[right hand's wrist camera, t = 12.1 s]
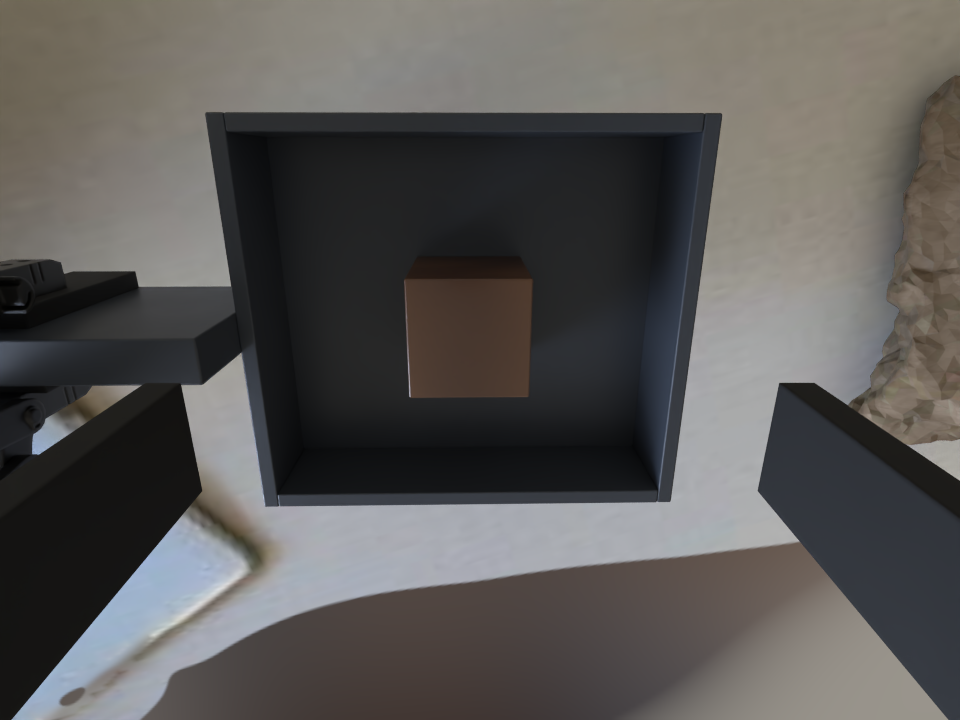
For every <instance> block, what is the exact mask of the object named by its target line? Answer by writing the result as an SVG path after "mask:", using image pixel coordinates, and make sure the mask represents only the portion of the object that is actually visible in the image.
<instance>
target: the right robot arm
mask: <svg viewBox="0 0 960 720" xmlns="http://www.w3.org/2000/svg"><path fill="white" fill-rule="evenodd" d="M201 492H202V487H201V482H200V477H199V472H198V467H197V462H196V457H195V452H194V447H193V442H192V437H191V432H190V427H189V422H188V417H187V412H186V407H185V402H184V397H183V392H182V387H181V383H145V384H143V385H142V386H140V387H139V388H137V389H136V390H134V391H133V392H131V393H130V394H129V395H127V396H126V397H124V398H123V399H121V400H120V401H118V402H117V403H115V404H114V405H112V406H111V407H109V408H108V409H106V410H105V411H103V412H102V413H100V414H99V415H97V416H96V417H94V418H93V419H91V420H90V421H88V422H87V423H85V424H84V425H82V426H81V427H80V428H78V429H77V430H75V431H74V432H72V433H71V434H69V435H68V436H66V437H65V438H63V439H62V440H60V441H59V442H57V443H56V444H54V445H53V446H51V447H50V448H48V449H47V450H45V451H44V452H42V453H41V454H39V455H38V456H36V457H35V458H33V459H32V460H31V461H29V462H28V463H26V464H25V465H23V466H22V467H20V468H19V469H17V470H16V471H14V472H13V473H11V474H10V475H8V476H7V477H5V478H4V479H2V480H1V481H0V720H12V718H13V717H14V716H15V715H16V714H17V712H18V711H19V710H20V709H21V708H22V706H23V705H24V704H25V703H26V702H27V700H28V699H29V698H30V697H31V696H32V694H33V693H34V692H35V691H36V690H37V688H38V687H39V686H40V685H41V684H42V682H43V681H44V680H45V679H46V678H47V676H48V675H49V674H50V673H51V672H52V670H53V669H54V668H55V667H56V666H57V665H58V663H59V662H60V661H61V660H62V659H63V657H64V656H65V655H66V654H67V653H68V651H69V650H70V649H71V648H72V647H73V645H74V644H75V643H76V642H77V641H78V639H79V638H80V637H81V636H82V635H83V633H84V632H85V631H86V630H87V629H88V627H89V626H90V625H91V624H92V623H93V621H94V620H95V619H96V618H97V617H98V615H99V614H100V613H101V612H102V611H103V609H104V608H105V607H106V606H107V605H108V603H109V602H110V601H111V600H112V599H113V597H114V596H115V595H116V594H117V593H118V591H119V590H120V589H121V588H122V587H123V585H124V584H125V583H126V582H127V581H128V579H129V578H130V577H131V576H132V575H133V573H134V572H135V571H136V570H137V569H138V567H139V566H140V565H141V564H142V563H143V561H144V560H145V559H146V558H147V557H148V555H149V554H150V553H151V552H152V551H153V549H154V548H155V547H156V546H157V545H158V543H159V542H160V541H161V540H162V539H163V537H164V536H165V535H166V534H167V533H168V531H169V530H170V529H171V528H172V527H173V525H174V524H175V523H176V522H177V521H178V519H179V518H180V517H181V516H182V515H183V513H184V512H185V511H186V510H187V509H188V507H189V506H190V505H191V504H192V503H193V501H194V500H195V499H196V498H197V497H198V495H199V494H200V493H201ZM758 492H759V493H760V494H761V495H762V497H763V498H764V499H765V500H766V501H767V503H768V504H769V505H770V506H771V507H772V509H773V510H774V511H775V512H776V513H777V515H778V516H779V517H780V518H781V519H782V521H783V522H784V523H785V524H786V525H787V527H788V528H789V529H790V530H791V531H792V533H793V534H794V535H795V536H796V537H797V539H798V540H799V541H800V542H801V543H802V545H803V546H804V547H805V548H806V549H807V551H808V552H809V553H810V554H811V555H812V557H813V558H814V559H815V560H816V561H817V563H818V564H819V565H820V566H821V567H822V569H823V570H824V571H825V572H826V573H827V575H828V576H829V577H830V578H831V579H832V581H833V582H834V583H835V584H836V585H837V587H838V588H839V589H840V590H841V591H842V593H843V594H844V595H845V596H846V597H847V598H848V600H849V601H850V602H851V603H852V604H853V606H854V607H855V608H856V609H857V611H858V612H859V613H860V614H861V615H862V617H863V618H864V619H865V620H866V621H867V623H868V624H869V625H870V626H871V627H872V629H873V630H874V631H875V632H876V633H877V634H878V636H879V637H880V638H881V639H882V641H883V642H884V643H885V644H886V645H887V647H888V648H889V649H890V650H891V651H892V653H893V654H894V655H895V656H896V657H897V659H898V660H899V661H900V662H901V663H902V665H903V666H904V667H905V668H906V669H907V670H908V672H909V673H910V674H911V675H912V676H913V678H914V679H915V680H916V681H917V682H918V684H919V685H920V686H921V687H922V688H923V690H924V691H925V692H926V693H927V694H928V696H929V697H930V698H931V699H932V700H933V702H934V703H935V704H936V705H937V706H938V708H939V709H940V710H941V711H942V712H943V714H944V715H945V716H946V717H947V718H948V720H960V481H959V480H958V479H956V478H955V477H953V476H952V475H950V474H949V473H947V472H946V471H944V470H943V469H941V468H940V467H938V466H937V465H935V464H934V463H932V462H931V461H929V460H928V459H927V458H925V457H924V456H922V455H921V454H919V453H918V452H916V451H915V450H913V449H912V448H910V447H909V446H907V445H906V444H904V443H903V442H901V441H900V440H898V439H897V438H895V437H894V436H892V435H891V434H889V433H888V432H886V431H885V430H883V429H882V428H880V427H879V426H878V425H876V424H875V423H873V422H872V421H870V420H869V419H867V418H866V417H864V416H863V415H861V414H860V413H858V412H857V411H855V410H854V409H852V408H851V407H849V406H848V405H846V404H845V403H843V402H842V401H840V400H839V399H837V398H836V397H834V396H833V395H831V394H830V393H829V392H827V391H826V390H824V389H823V388H821V387H820V386H818V385H817V384H815V383H779V387H778V392H777V397H776V402H775V407H774V412H773V417H772V422H771V427H770V432H769V437H768V442H767V447H766V452H765V457H764V462H763V467H762V472H761V477H760V482H759V487H758Z"/></svg>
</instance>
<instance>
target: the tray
mask: <svg viewBox="0 0 960 720" xmlns="http://www.w3.org/2000/svg"><path fill="white" fill-rule="evenodd" d="M205 115H206V122H207V128H208V135H209V142H210V148H211V155H212V161H213V168H214V175H215V181H216V188H217V194H218V201H219V208H220V214H221V221H222V227H223V234H224V240H225V247H226V254H227V260H228V267H229V273H230V280H231V287H139V288H137V289H134V290H132V291H129V292H126V293H124V294H121V295H118V296H116V297H113V298H110V299H107V300H105V301H102V302H99V303H97V304H94V305H91V306H89V307H86V308H83V309H81V310H78V311H75V312H73V313H70V314H67V315H65V316H62V317H59V318H57V319H54V320H51V321H49V322H46V323H43V324H40V325H38V326H35V327H32V328H30V329H0V386H115V385H143V384H145V383H181V385H202V384H204V383H205V382H206V381H208V380H209V379H210V378H211V377H212V376H214V375H215V374H216V373H217V372H219V371H220V370H221V369H222V368H223V367H225V366H226V365H227V364H228V363H229V362H231V361H232V360H233V359H234V358H235V357H237V356H238V355H239V354H240V353H241V352H242V359H243V366H244V372H245V379H246V385H247V392H248V398H249V405H250V412H251V418H252V425H253V431H254V438H255V445H256V451H257V458H258V464H259V471H260V478H261V484H262V491H263V497H264V504H265V506H266V507H267V506H348V505H440V504H531V503H623V502H656V501H657V502H670V501H671V494H672V486H673V479H674V472H675V464H676V457H677V449H678V442H679V434H680V427H681V419H682V412H683V404H684V397H685V389H686V382H687V374H688V367H689V360H690V352H691V345H692V337H693V330H694V322H695V315H696V307H697V300H698V292H699V285H700V277H701V270H702V262H703V255H704V248H705V240H706V233H707V225H708V218H709V210H710V203H711V195H712V188H713V180H714V173H715V165H716V158H717V150H718V143H719V136H720V128H721V121H722V114H721V113H705V114H704V113H301V112H225V113H223V112H206V113H205ZM418 256H520V257H521V259H522V261H523V262H524V264H525V266H526V268H527V270H528V271H529V273H530V275H531V277H532V279H533V301H532V330H531V360H530V389H529V397H441V398H410V396H409V380H408V358H407V336H406V314H405V291H404V279H405V277H406V276H407V274H408V272H409V270H410V269H411V267H412V265H413V263H414V261H415V260H416V258H417V257H418Z"/></svg>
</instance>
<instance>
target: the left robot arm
mask: <svg viewBox="0 0 960 720" xmlns="http://www.w3.org/2000/svg"><path fill="white" fill-rule="evenodd" d="M137 288H139V287H138V282H137V277H136V272H135V271H112V272H70V273H66V274H64V273H63V269H62V265H61V263H60V262H57V261H54V260H50V259H39V260H7V261H2V262H0V329H30V328H32V327H35V326H38V325H40V324H43V323H46V322H49V321H51V320H54V319H57V318H59V317H62V316H65V315H67V314H70V313H73V312H75V311H78V310H81V309H83V308H86V307H89V306H91V305H94V304H97V303H99V302H102V301H105V300H107V299H110V298H113V297H116V296H118V295H121V294H124V293H126V292H129V291H132V290H134V289H137ZM91 387H92V386H0V481H1V480H2V479H4V478H5V477H7V476H8V475H10V474H11V473H13V472H14V471H16V470H17V469H19V468H20V467H22V466H23V465H25V464H26V463H28V462H29V461H31V460H32V459H33V458H35V457H36V456H38V455H37V454H32V438H33V434H34V433H36V432H37V431H38V430H40V429H41V428H42V426H43V424H44V422H45V419H46V418H47V417H49V416H51V415H52V414H54V413H56V412H57V411H59V410H61V409H62V408H64V407H66V406H67V405H68V404H71V403H72V402H74V401H75V400H77V399H79V398H81V397H82V396H84V395H86V394H87V392H88V391H89V390H90V388H91Z"/></svg>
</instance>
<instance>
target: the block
mask: <svg viewBox="0 0 960 720" xmlns="http://www.w3.org/2000/svg"><path fill="white" fill-rule="evenodd" d="M404 291H405V314H406V336H407V358H408V380H409V396H410V398H441V397H529V389H530V360H531V330H532V301H533V279H532V277H531V275H530V273H529V271H528V270H527V268H526V266H525V264H524V262H523V261H522V259H521V257H520V256H418V257H417V258H416V260H415V261H414V263H413V265H412V267H411V269H410V270H409V272H408V274H407V276H406V277H405V279H404Z"/></svg>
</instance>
